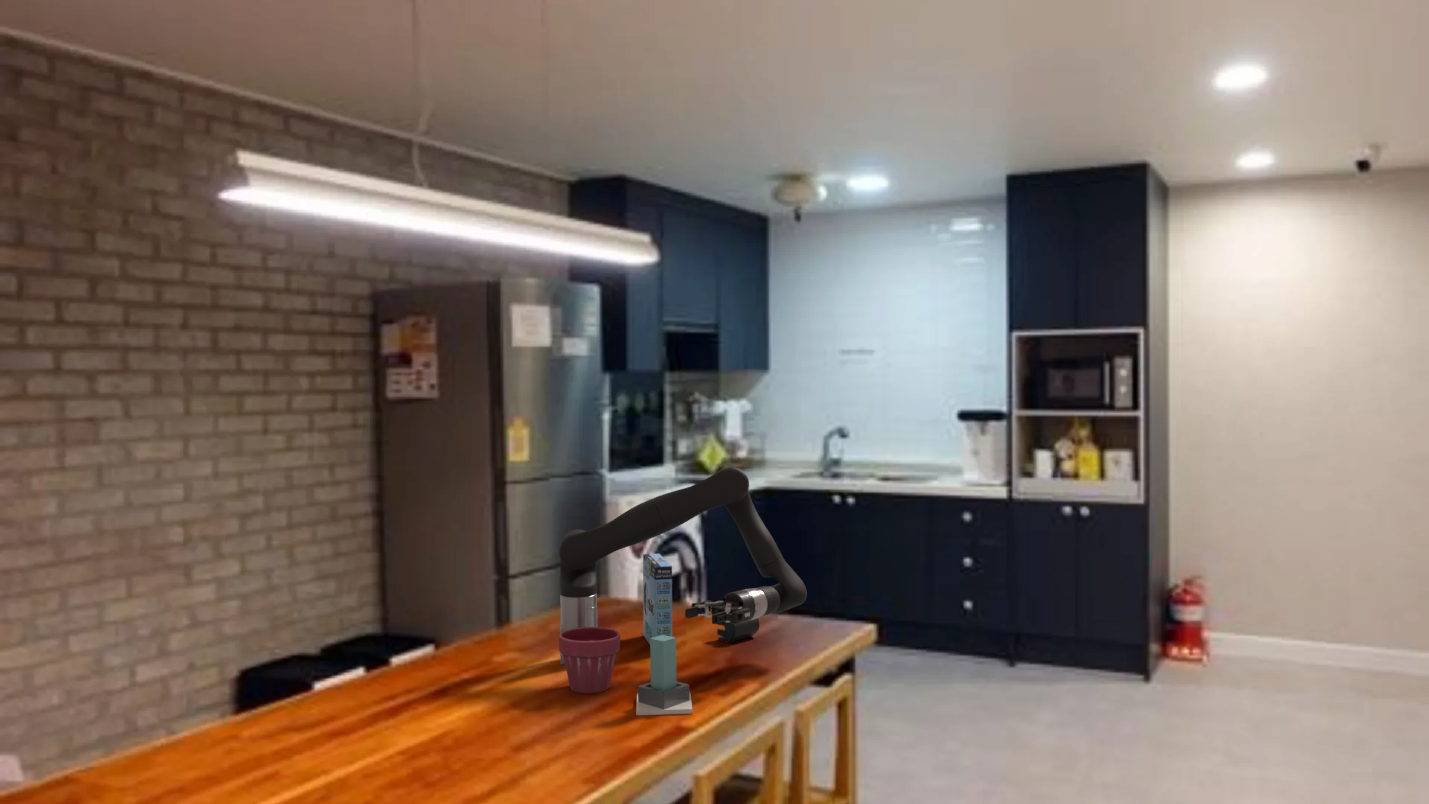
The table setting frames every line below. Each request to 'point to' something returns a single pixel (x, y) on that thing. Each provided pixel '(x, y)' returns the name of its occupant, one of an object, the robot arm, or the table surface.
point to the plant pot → (589, 657)
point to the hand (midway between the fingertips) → (699, 616)
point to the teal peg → (663, 662)
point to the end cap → (738, 630)
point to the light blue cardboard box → (657, 596)
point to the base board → (677, 709)
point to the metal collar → (663, 695)
